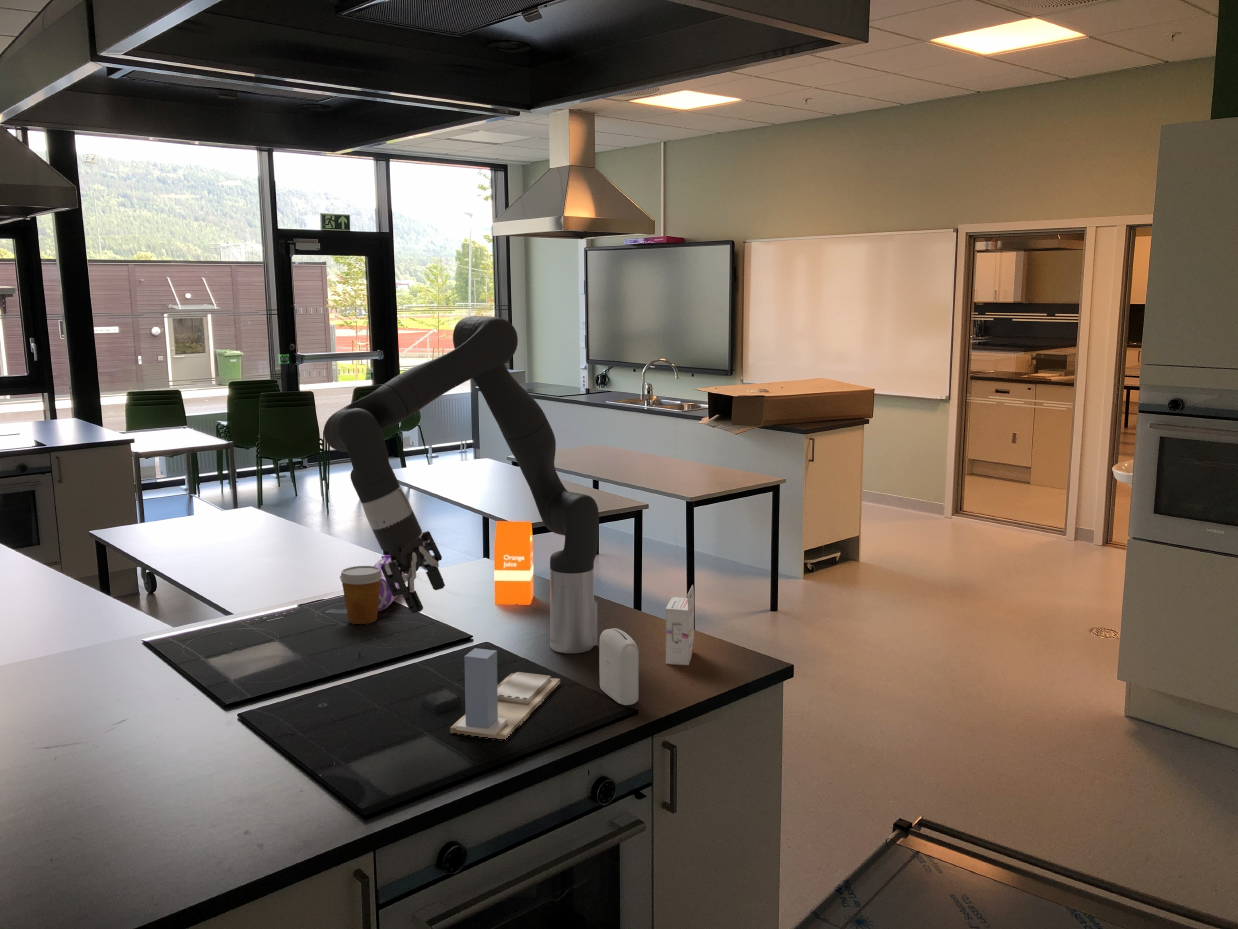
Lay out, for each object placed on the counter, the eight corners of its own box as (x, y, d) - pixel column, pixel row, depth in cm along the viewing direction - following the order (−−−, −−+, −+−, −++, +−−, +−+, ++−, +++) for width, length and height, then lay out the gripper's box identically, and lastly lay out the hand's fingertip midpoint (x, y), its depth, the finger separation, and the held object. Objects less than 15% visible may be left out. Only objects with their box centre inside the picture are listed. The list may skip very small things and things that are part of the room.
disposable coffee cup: (392, 619, 217) (391, 568, 215) (361, 630, 209) (359, 578, 207) (364, 612, 222) (362, 563, 220) (332, 622, 214) (330, 571, 212)
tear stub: (469, 717, 159) (468, 646, 157) (507, 723, 157) (506, 650, 155) (456, 729, 155) (454, 656, 153) (495, 735, 153) (494, 660, 151)
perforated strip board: (511, 678, 181) (511, 668, 180) (560, 684, 178) (560, 674, 177) (450, 733, 156) (450, 722, 156) (505, 741, 153) (505, 730, 153)
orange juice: (530, 604, 228) (529, 524, 226) (494, 604, 229) (493, 524, 226) (533, 595, 236) (533, 518, 233) (498, 595, 236) (498, 517, 233)
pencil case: (370, 589, 242) (369, 553, 240) (407, 588, 243) (406, 552, 241) (356, 615, 220) (354, 576, 219) (396, 614, 221) (395, 575, 220)
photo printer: (596, 688, 176) (596, 624, 174) (616, 684, 178) (617, 621, 176) (620, 708, 167) (620, 641, 165) (641, 704, 169) (642, 638, 167)
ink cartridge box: (670, 650, 197) (671, 582, 195) (694, 652, 196) (695, 583, 194) (664, 664, 189) (665, 593, 186) (688, 666, 188) (690, 595, 185)
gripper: (388, 529, 153) (428, 615, 157) (428, 497, 165) (464, 577, 169) (352, 539, 155) (392, 624, 159) (393, 506, 168) (429, 585, 172)
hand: (429, 599), depth 164 cm, fingers open, 8 cm apart
